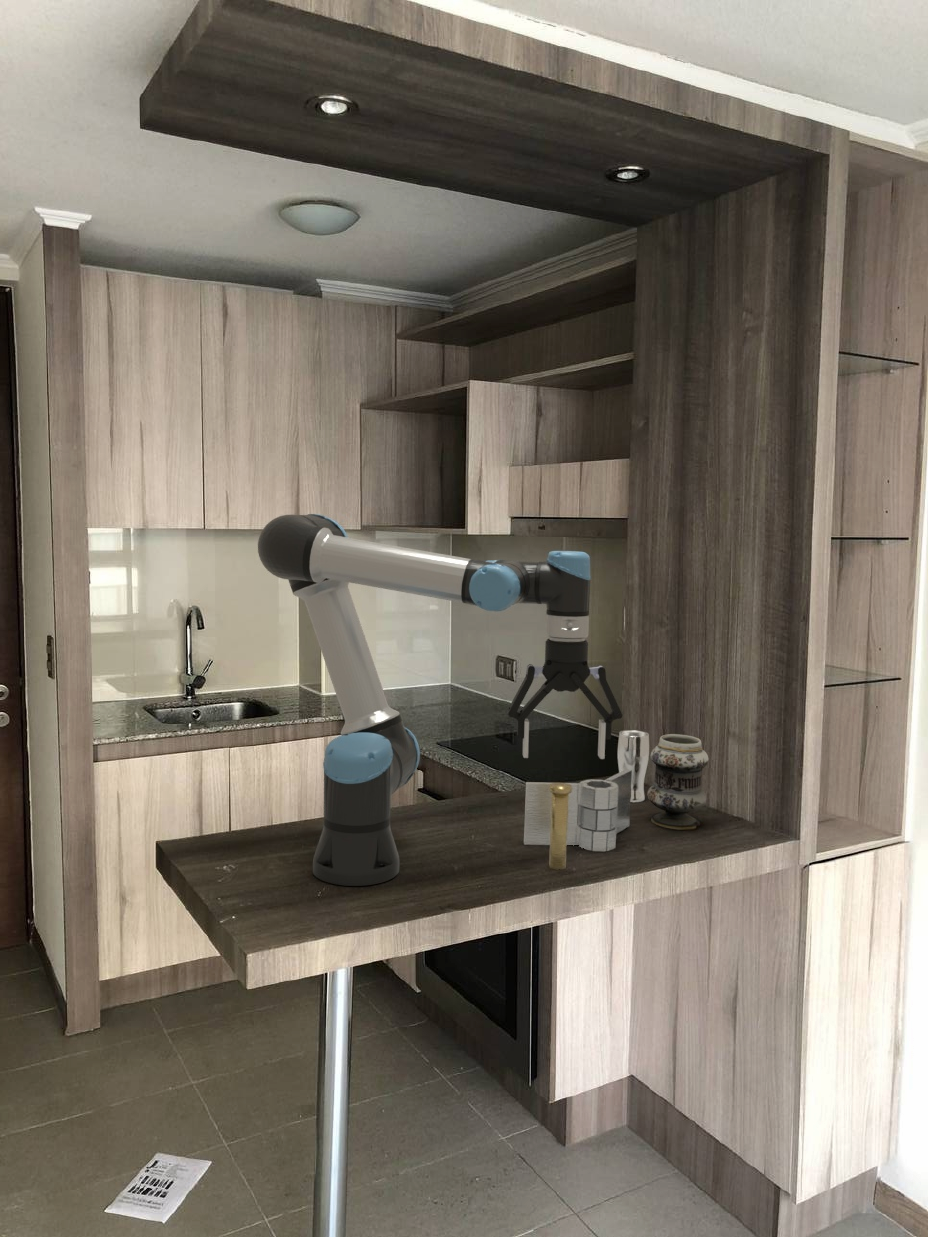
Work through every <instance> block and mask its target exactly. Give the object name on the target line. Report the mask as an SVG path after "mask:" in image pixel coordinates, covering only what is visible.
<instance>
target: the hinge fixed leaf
mask: <svg viewBox="0 0 928 1237" xmlns="http://www.w3.org/2000/svg"><path fill="white" fill-rule="evenodd" d="M551 783H552V782H545V781H544V782H538V781H537V782H534V781H532V782H531V781H526V782H525V802H524V804H525V805H524V824H523V825H524V827H523V828H524V830H523V833H524V834H523V845H525V846H526V845H528V846H550V829H551V803H552V793H551V792H550V791H549V785H550V784H551ZM566 783H567V784H570V785H571V786H572V792H571V793H569V798H568V823H567V845H573V847H574V845H579V846H578V847H579V848H580V847H581V849H583V848H584V849H585V850H586V851H592V852H609V851H611V850H614V849H616V846H617V845H616V842H617V834H616V827H615V828H613V829H611V830H598V831H597V830H591V829H587V828H583V827H581V826H580V825H579V824H578V809H579V804H581V805H582V806H584V807H588V808H591V809H611V808H614V807H617V805H618V785H617V784H616V783H614V782H611V781H607V780H605V779H594V778H593V779H590V778H589V779H585V780H582V781H580V782H566Z"/></svg>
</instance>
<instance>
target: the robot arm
mask: <svg viewBox="0 0 928 1237" xmlns="http://www.w3.org/2000/svg"><path fill="white" fill-rule="evenodd" d="M257 554H258V558H259V560H260V562H261V563H262V565H263V567H264V568H265V569H266V570H267V571H268V573H270V574H271V575H273V576H275V577H277V578H279V579H282V580H287V581H288V583H289V586H290V588H291V592H292V595H293V596H295V597H297V598H299V599H301V600H302V601H303V602H304V604H305V607H306V611H307V614H308V616H309V619H310V622H311V625H312V628H313V630H314V631H313V632H314V634H315V637H316V640H317V642H318V646H319V648H320V651H321V655H322V657H323V660H324V663H325V666H326V668H327V672H328V675H329V678H330V681H331V684H332V685H333V689H334V692H335V696H336V698H337V701H338V703H339V707H340V709H341V712H342V715H343V719H344V724H343V727H342V728H341V730H340V735H339V736H338V737H335V738H334V739H332V740H331V741H329V742H328V744H327V745H326V747H325V750H324V758H323V762H322V766H323V767H322V768H323V827H322V830H321V835H320V837H319V841H318V843H317V846H316V849H315V853H314V855H313V859H312V874H313V875H314V876H315V877H316V878H317V879H319V880H320V881H322V882H325V883H329V884H333V885H338V886H346V887H347V886H348V887H349V886H350V887H358V886H359V887H363V886H371V885H376V884H381V883H384V882H387V881H390V880H391V879H393V878H395V877H397V875H398V874H399V872H400V856H399V852H398V849H397V845H396V842H395V838H394V836H393V832H392V830H391V806H392V803H391V802H392V795H393V794H394V793H396V792H397V790H399V789H400V788H402V787H404V786H405V785H406V784H408V782H409V781H411V779H412V777H413V776H414V773H415V772H416V771H417V768H418V766H419V764H420V761H421V760H420V758H421V751H420V750H421V749H420V745H419V743H418V740H417V738H416V736H415V734H414V733H413V732H412V731H411V730H410V729H408V728H407V727H405V726H404V722H403V720H402V716H401V714H400V712H399V710H395V709H393V708H392V707H390V705H389V704H388V701H387V697H386V695H385V692H384V688H383V686H382V682H381V680H380V677H379V674H378V671H377V668H376V666H375V662H374V660H373V656H372V653H371V650H370V647H369V645H368V642H367V640H366V635H365V634H364V630H363V627H362V624H361V622H360V617H359V616H358V612H357V609H356V607H355V603H354V600H353V598H352V595H351V592H350V589H349V584H356V585H361V586H368V587H373V588H376V589H377V588H379V589H385V590H390V591H394V592H399V593H400V592H401V593H407V594H413V595H417V596H423V597H427V598H434V599H438V600H439V599H440V600H446V601H452V602H457V603H463V604H466V605H470V606H476V607H478V608H480V609H482V610H484V611H487V612H502V611H504V610H507V609H508V608H510V607H512V606H513V605H515V604H527V605H530V604H531V605H533V604H535V605H545V606H546V611H545V612H546V614H545V615H546V616H545V617H546V619H545V635H546V637H547V639H546V641H545V642H544V643H545V646H544V647H545V649H544V653H545V654H544V664H543V666H538V665H537V666H536V665H533V664H531V663H530V664H528V665H527V666H526V673H525V677H524V679H523V681H522V682H521V685H519V688H518V690H517V692H516V694H515V695H514V697H513V699H512V701H511V703H510V705H509V707H508V709H507V711H506V712H507V715H508V717H509V718H512V719H515V720H517V721H516V723H517V725H516V734H517V737H518V739H522V756H523V758H524V759H528V758H529V741H530V740H529V733H530V721H529V719H528V717H529V715H530V714H531V713H532V712H533V711H534V710H535V709H536V707H538V705H539V704H540V703H542V701H543V700H544V699H545V698H546V696H548V694H550V693H551V691H552V690H554V691H556V692H561V693H562V692H564V691H567V692H570V693H572V692H573V693H575V692H576V691H578V690H579V689H580V691H581V692H582V693H583V694H584V696H585V697H586V698H587V699H588V701H589V702H590V703H591V704H592V706H593V707H594V708H595V709H596V711H597V712H598V713H599V714H600V715H601V716H602V717H603V719H598V739H597V740H598V741H597V742H598V743H597V756H598V758H599V759H600V760H605V756H606V754H605V753H606V752H605V750H606V740H611V738H612V724H613V723H614V722H613V721H616V720H620V719H622V718H623V713H622V711H621V708H620V706H619V704H618V702H617V700H616V698H615V695H614V693H613V691H612V689H611V687H610V685H609V683H608V680H607V672H606V668H605V667H604V666H602V665H601V664H600V665H597V666H593V667H589V664H588V662H589V660H588V659H589V656H588V655H589V642H588V640H586V639H587V638H588V637H589V631H590V630H589V628H590V627H589V626H590V624H589V623H590V601H591V600H590V598H591V581H592V577H591V558H590V555H589V554H588V553H587V552H584V551H578V550H577V551H574V550H552V551H549V553H548V555H547V559H546V561H527V560H526V561H524V560H522V561H521V560H506V559H495V560H486V561H485V560H479V559H472V558H468V557H466V558H465V557H460V556H456V555H455V556H454V555H449V554H443V553H438V552H433V551H427V550H421V549H415V548H411V547H410V548H408V547H403V546H398V545H393V544H387V543H386V544H385V543H380V542H375V541H370V540H369V541H368V540H363V539H359V538H358V539H357V538H351V537H349V536H348V534H347V533H346V531H345V529H344V528H343V527H342V525H341V524H340V523H338V522H337V521H336V520H334V519H332V518H330V517H328V516H325V515H321V514H315V513H309V514H285V515H284V514H283V515H280V516H277V517H275V518H273V519H272V520H270V521H269V522H268V523H267V524H266V525H265V526H264V527H263V529H262V530H261V532H260V534H259V536H258V541H257ZM541 674H542V675H543V676H544V678H545V679H546V680H545V681H544V682H543V683H542V685H541V686H540V688H539V689H538V690H537V691H536V692H535V693H534V695H533V696H532V697H530V699H529V700H528V701H527V702H526V703H525V704H524V706H523V707H522V708H521V709H520V710H519V708H520V707H521V704H522V703H523V701H524V699H525V697H526V695H527V693H528V692H529V689H530V688H531V686H532V684H533V681H534V679H537V678H538V677H539V675H541ZM590 675H592V676H593V678H594V679H595V680H597V681H598V684H599V685H600V688H601V690H602V692H603V695H604V697H605V699H606V702H607V703H608V705H609V707H610V709H611V711H610V712H608V710H607V709H606V708H605V707H604V705H603V704H602V703H601V702H600V701H599V700H598V698H597V697H596V696H595V694H594V693H593V692H592V691H591V690H590V688H589V687H588V686H587V685H586V683H585V682H586V680H587V679H588V678H589V676H590Z"/></svg>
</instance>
